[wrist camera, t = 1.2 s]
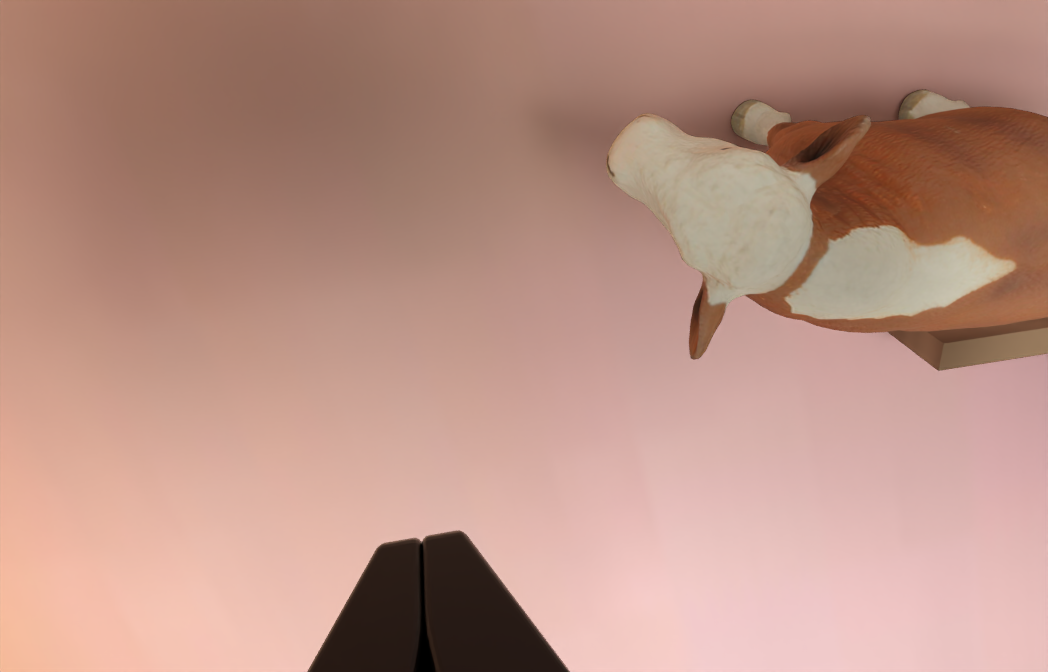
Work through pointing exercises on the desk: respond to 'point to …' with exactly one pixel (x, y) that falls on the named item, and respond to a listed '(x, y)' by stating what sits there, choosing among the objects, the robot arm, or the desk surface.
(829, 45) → the desk surface
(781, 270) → the bull figurine
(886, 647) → the desk surface
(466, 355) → the desk surface
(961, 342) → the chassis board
